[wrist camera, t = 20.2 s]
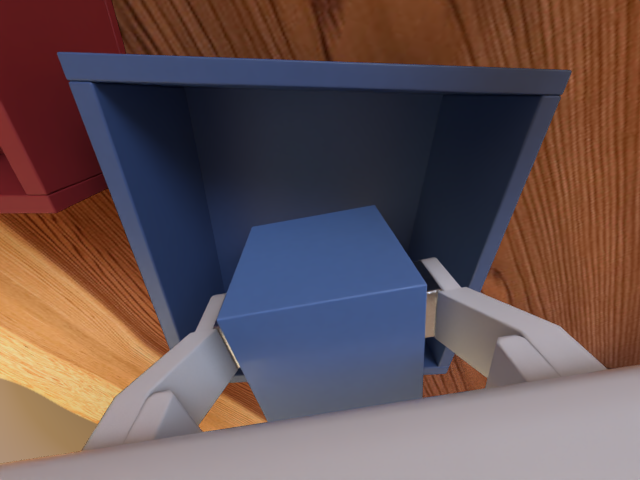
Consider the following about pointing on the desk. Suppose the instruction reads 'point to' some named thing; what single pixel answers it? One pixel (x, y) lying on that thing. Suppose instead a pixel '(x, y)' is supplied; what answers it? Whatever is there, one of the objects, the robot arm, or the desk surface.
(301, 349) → the blue block
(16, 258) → the desk surface
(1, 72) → the red bin
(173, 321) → the blue bin
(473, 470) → the robot arm
